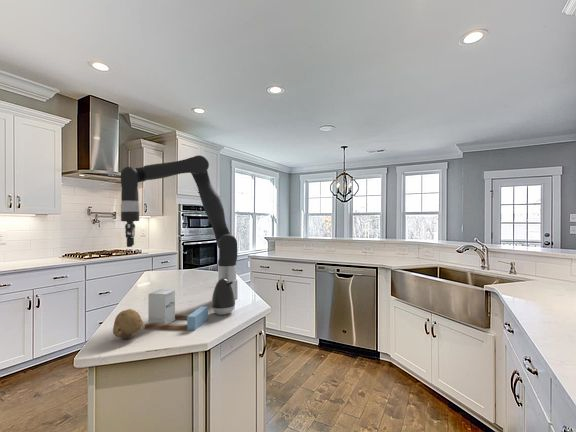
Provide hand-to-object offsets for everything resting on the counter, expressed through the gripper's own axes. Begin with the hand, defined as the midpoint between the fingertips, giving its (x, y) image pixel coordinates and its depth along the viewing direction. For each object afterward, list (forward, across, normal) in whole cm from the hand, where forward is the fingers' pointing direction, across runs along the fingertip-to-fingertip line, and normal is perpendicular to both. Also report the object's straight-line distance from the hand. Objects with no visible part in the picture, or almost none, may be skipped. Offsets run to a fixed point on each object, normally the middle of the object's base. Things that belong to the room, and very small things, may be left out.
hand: (130, 246), depth 140 cm
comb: (+29, -28, -18) cm, 44 cm away
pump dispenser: (+30, -23, -38) cm, 53 cm away
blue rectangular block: (+29, -33, -26) cm, 51 cm away
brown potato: (+29, -38, -2) cm, 48 cm away
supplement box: (+29, -26, -13) cm, 41 cm away
